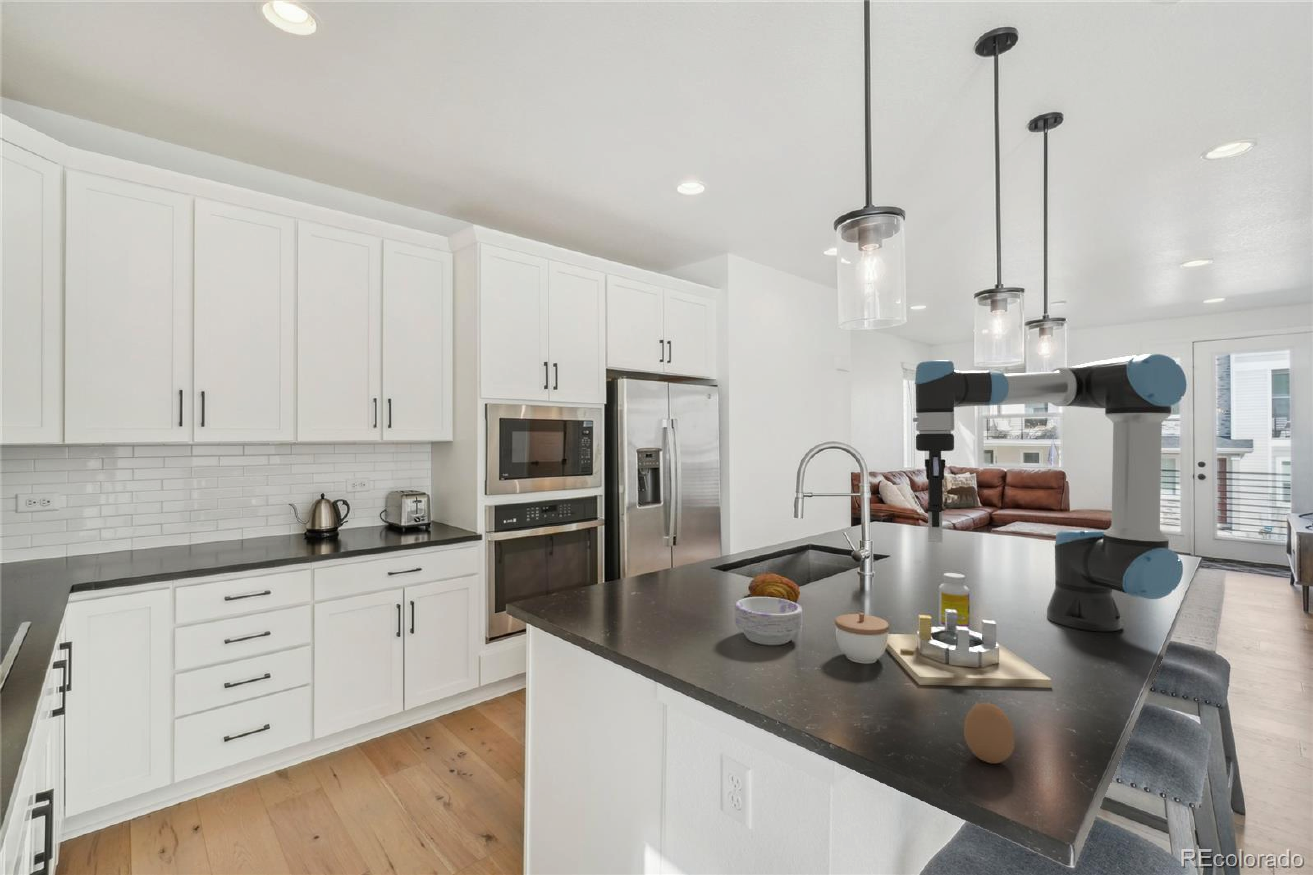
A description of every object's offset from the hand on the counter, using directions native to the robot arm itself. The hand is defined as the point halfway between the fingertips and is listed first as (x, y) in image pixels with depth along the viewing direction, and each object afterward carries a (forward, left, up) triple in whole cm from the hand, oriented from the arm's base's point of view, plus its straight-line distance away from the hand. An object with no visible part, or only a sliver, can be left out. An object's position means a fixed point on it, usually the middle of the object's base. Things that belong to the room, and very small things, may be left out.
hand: (935, 541), depth 129 cm
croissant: (+29, -39, -24) cm, 55 cm away
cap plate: (-2, +6, -24) cm, 25 cm away
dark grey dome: (-2, +6, -22) cm, 23 cm away
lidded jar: (+17, +5, -24) cm, 30 cm away
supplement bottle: (-11, -16, -24) cm, 31 cm away
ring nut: (-2, +6, -22) cm, 23 cm away
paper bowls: (+35, -6, -24) cm, 43 cm away
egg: (+10, +44, -24) cm, 51 cm away
